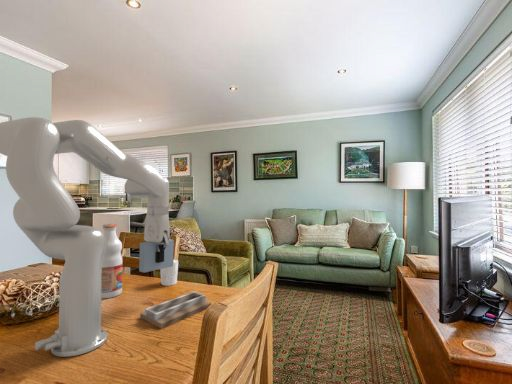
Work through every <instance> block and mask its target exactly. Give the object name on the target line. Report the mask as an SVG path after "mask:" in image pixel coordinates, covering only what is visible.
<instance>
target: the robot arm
mask: <svg viewBox="0 0 512 384" xmlns="http://www.w3.org/2000/svg"><path fill="white" fill-rule="evenodd" d="M68 153H69V154H71V153H73V154H76V155H77V156H79V157H80V158H82V159H83V160H85V162H87V163H89V164H90V165H91V166H92V167H94V168H96V169H97V170H98V171H99V172H101V173H102V174H105V175H107V176H111V177H113V178H119V179H124V180H126V181H125V183H124V190H125V192H126V194H127V195H128V196H130V197H132V198H135V199H136V198H139V199H143V198H146V199H147V200H146V204H147V205H146V206H147V208H146V216H145V223H144V232H143V239H144V241H145V242H152V243H155V244H157V252H156V263H160V262H164V251H165V248H166V247H167V246H168V245H169V239H170V233H171V232H170V231H171V229H170V228H171V227H170V219H169V218H170V217H169V214H170V213H169V212H170V211H169V208H170V207H169V205H170V181H169V180H168V179H167V178H165V177H163V176H162V175H161V174H160V173H159V171H158V170H156V169H155V167H153V166H151V165H150V164H148V163H147V162H144V161H143V160H141V159H138V158H136V157H135V156H132V155H130V154H127V153H126V152H123V151H122V150H121V149H120V148H119V147H117V146H116V145H115V144H114V143H113V142H112V141H110V140H109V139H108V138H107V137H106V136H105V135H103V133H102V132H100V131H99V130H98V129H97V128H96V127H95V126H93V125H92V124H91V123H90V122H88V121H85V120H83V119H70V120H64V121H57V122H52V121H51V120H49V119H47V118H43V117H38V116H37V117H35V116H31V117H25V118H24V117H23V118H19V119H13V120H7V121H2V122H0V154H1V155H3V156H5V157H6V162H5V175H6V177H7V180H8V183H9V184H10V186H11V188H12V189H13V190H14V192H15V193H16V194H17V195H16V196H18V199H17V201H16V202H15V203H14V205H13V208H12V209H13V210H12V216H13V219H14V221H15V223H16V225H17V226H18V228H20V230H21V231H22V232H23V233H24V234H25V235H26V237H27V238H28V239H29V240H30V241H31V243H33V245H35V247H36V248H37V249H38V250H39V251H40V252H41V253H42V254H43V255H45V256H46V257H49V258H51V259H56V260H62V261H63V260H64V261H65V262H64V265H63V267H62V269H61V273H60V276H59V282H58V283H59V285H58V289H59V292H58V294H59V295H58V296H59V297H58V298H59V300H58V301H59V302H58V329H56V330H54V334H53V335H51V336H50V337H48V338H45V339H41V340H39V341H36V342H35V343H34V349H35V351H39V350H42V349H44V351H49V350H50V352H51V354H52V355H54V356H55V357H59V358H60V357H63V358H66V357H74V356H79V355H83V354H86V353H89V352H91V351H94V350H95V349H97V348H99V347H100V346H102V345H103V344H104V343H105V342H106V341H107V339H108V331H107V330H106V329H104V328H102V298H101V276H102V262H103V257H104V252H105V248H106V239H105V236H104V234H103V233H104V232H103V231H101V230H100V229H99V228H97V227H94V226H90V225H79V224H77V223H78V222H79V221H80V218H81V211H80V208H79V206H78V204H77V203H76V201H75V199H74V198H73V197H72V196H71V194H70V192H69V191H68V190H67V188H66V187H65V186H64V184H63V183H62V181H61V180H60V178H59V176H58V174H57V172H56V171H55V167H54V157H55V155H58V154H68ZM161 241H162V242H161ZM160 242H161V243H160ZM160 244H162V245H161V246H160Z"/></svg>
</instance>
